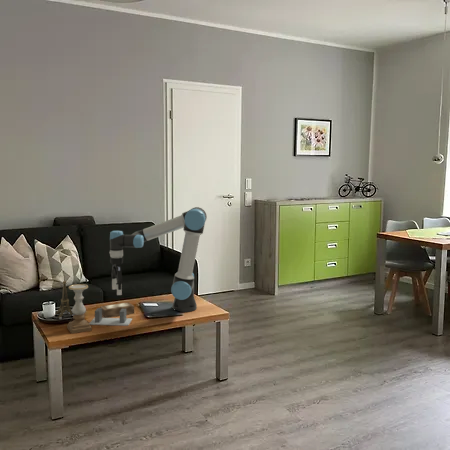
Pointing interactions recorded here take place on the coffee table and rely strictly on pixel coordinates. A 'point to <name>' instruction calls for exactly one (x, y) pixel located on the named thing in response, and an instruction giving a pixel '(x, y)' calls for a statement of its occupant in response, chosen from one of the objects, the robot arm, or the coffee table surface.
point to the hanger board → (110, 319)
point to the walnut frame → (116, 309)
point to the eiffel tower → (64, 301)
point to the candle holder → (78, 311)
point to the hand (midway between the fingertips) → (116, 292)
